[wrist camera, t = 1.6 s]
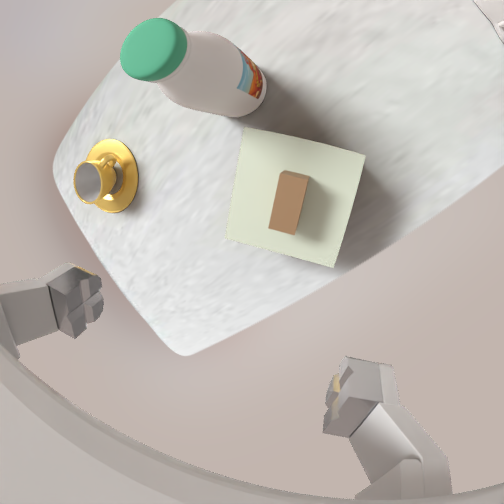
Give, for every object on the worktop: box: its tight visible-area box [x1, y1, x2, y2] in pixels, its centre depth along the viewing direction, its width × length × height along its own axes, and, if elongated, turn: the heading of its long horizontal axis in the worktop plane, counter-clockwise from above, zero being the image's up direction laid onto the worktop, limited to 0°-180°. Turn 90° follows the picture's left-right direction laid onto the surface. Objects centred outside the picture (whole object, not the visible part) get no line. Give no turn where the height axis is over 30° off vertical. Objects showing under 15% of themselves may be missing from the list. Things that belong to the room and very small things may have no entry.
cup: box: [74, 139, 138, 213], centre depth 38 cm, size 12×12×5 cm
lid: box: [225, 127, 366, 268], centre depth 26 cm, size 12×12×4 cm
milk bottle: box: [120, 18, 267, 117], centre depth 23 cm, size 8×8×20 cm
